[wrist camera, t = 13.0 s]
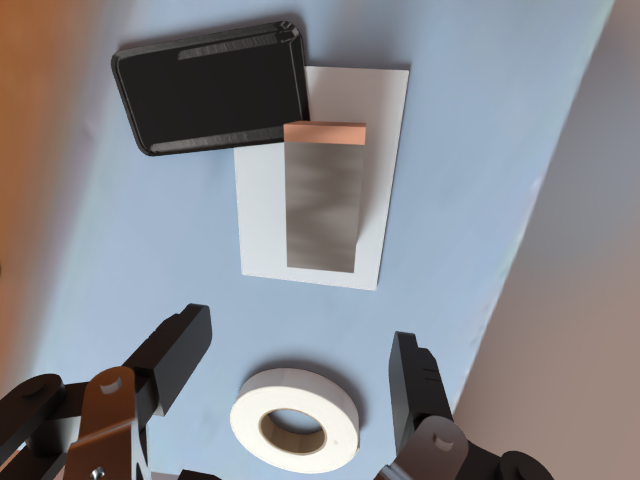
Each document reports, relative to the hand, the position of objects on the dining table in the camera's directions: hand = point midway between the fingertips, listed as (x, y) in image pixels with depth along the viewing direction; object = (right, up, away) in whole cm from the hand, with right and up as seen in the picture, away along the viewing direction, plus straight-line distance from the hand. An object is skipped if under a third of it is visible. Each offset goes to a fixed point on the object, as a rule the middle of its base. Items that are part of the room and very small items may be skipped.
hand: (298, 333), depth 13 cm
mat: (0, +8, +13) cm, 15 cm away
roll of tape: (-2, -17, +25) cm, 31 cm away
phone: (-7, +16, +11) cm, 21 cm away
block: (+1, +3, +12) cm, 12 cm away
